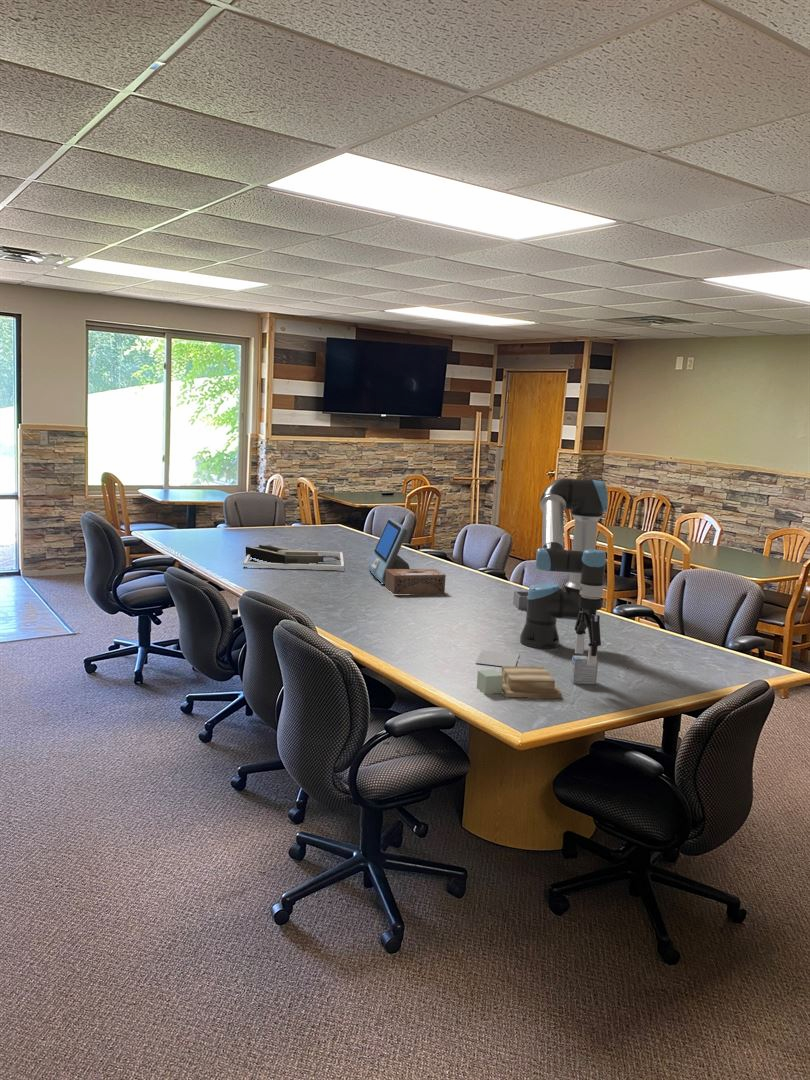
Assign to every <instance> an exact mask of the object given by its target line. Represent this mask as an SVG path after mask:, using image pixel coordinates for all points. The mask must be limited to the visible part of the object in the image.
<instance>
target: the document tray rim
mask: <svg viewBox="0 0 810 1080" xmlns="http://www.w3.org/2000/svg"><path fill="white" fill-rule="evenodd" d="M312 551H313V552H317V551H318V550H317V551H316V550H312ZM321 552H322V553H321ZM317 553H318V554H324V555H325V554H326V555H328V554H329V555H340V559H341V560H339V563H340V562H341V565H340V564H283V563H259V562H255V561H251V562H248V561H249V559H250V555H249V554H248V555H247V557H246V556H245V558H244V560H243V565H256V566H258V565H259V566H287V567H288V566H290V567H314V568H342V569H344V570H345V565H344V564H345V563H344V555H343V551H321V550H319V551H318V552H317Z"/></svg>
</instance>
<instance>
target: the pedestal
mask: <svg viewBox="0 0 810 1080" xmlns="http://www.w3.org/2000/svg"><path fill="white" fill-rule="evenodd" d="M501 674H502V675H503V685H502V692H503V693H502V694H503V695H505V696H504V698H509V697H528V698H527V699H562V697H563V693H562V692H561V691H560V690H559V689H558V687H557V686H556V680H555V679H554V678H553V677H552V676H551V675H550V673H549V672H548V671H547V670H546V668H545V667H544V666H501Z"/></svg>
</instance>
